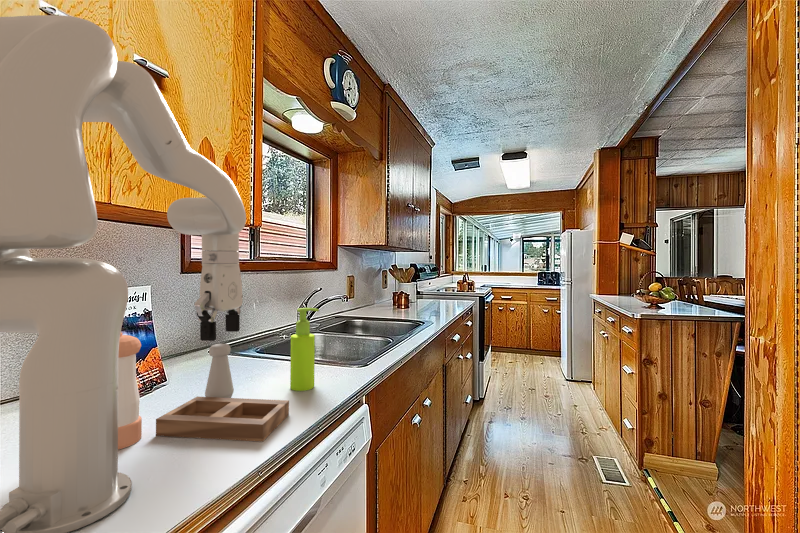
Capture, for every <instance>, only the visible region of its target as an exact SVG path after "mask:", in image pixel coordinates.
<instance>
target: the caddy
mask: <svg viewBox="0 0 800 533" xmlns="http://www.w3.org/2000/svg"><path fill="white" fill-rule="evenodd" d="M289 416H290V400H288V399H287V400H283V399H282V400H281V399H263V398H243V397H242V398H241V397H240V398H237V397H236V398H235V397H231V398H220V397H206V396H196V397H194V398H192V399H190V400H188V401H187V402H185V403H183V404H181V405H179V406H177V407H176V408H173V409H172V410H170V411H169V412H166V413H165V414H162V415H161V416H159V417H158V418H156V419H155V436H156V437H171V438H187V439H191V438H192V439H207V440H224V441H225V440H226V441H246V442H259V443H260V442H261V443H263V442H264V441H265V440H266V439H267V438H268V437H269V436H270V435H271V434H272V433H273V432H274V431H275V430H276V429H277V428H278V427H279V426H280V424H282V423H283V422H284V421H285V420H286V419H287V418H288V417H289Z"/></svg>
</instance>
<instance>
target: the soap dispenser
mask: <svg viewBox="0 0 800 533" xmlns="http://www.w3.org/2000/svg"><path fill="white" fill-rule="evenodd" d="M296 311H297V312H299V319H298V320H297V321H296V322H295V334H292V335H290V370H289V371H290V381H289V382H290V383H289V384H290V385H289V386H290V390H291V391H297V392H298V391H299V392H303V391H310V390H311V389H314V388H315V361H316V360H315V359H316V357H315V353H316V351H315V349H316V348H315V342H316V340H315V338H316V335H315V334H314V333H311V331H310V330H311V326H310V325H311V324H310V323H311V322H310V320H308V319H307V312H310V311H311V312H319V311H320V309H319V308H315V307H301V308H297V309H296Z"/></svg>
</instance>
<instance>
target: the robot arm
mask: <svg viewBox="0 0 800 533" xmlns="http://www.w3.org/2000/svg"><path fill="white" fill-rule="evenodd" d="M83 123H109V124H111V125H112V127H113V128H114V129H115V131H116V132H117V133H118V136H119V138H121V140H122V141H123V143H124V144H125V146H126V147H127V148H128V151H129V152H130V153H131V154H132V156H133V158H134V159H135V160H136V162H137V164H138V165H139V167H141V169H142V170H144V171H146V172H147V173H148V174H151V176H152V175H153V176H155V177H157V178H160V179H162V180H164V181H167V182H171V183H174V184H177V185H180V186H183V187H186V188H188V189H190V190H194V191H195V192H197V193H199V194H201V195H203V196H204V197H182V198H178V199H176V200H173V202H171V203H170V204H169V207H168V208H167V212H166V217H167V221H168V223H169V225H170V226H171V227H172V229H174V231H175V232H178V233H179V234H183V235H188V236H201V266H202V267H201V275H200V283H199V284H200V285H199V298H198V299H197V300H196V301H195V302H194V308H195V311H196V317H197V318H198V322H199V323H200V324H199V325H200V326H199V327H200V328H199V330H200V334H199V335H200V337H199V338H200V339H199V340H200V341H205V342H207V341H209V342H215V341H216V340H217V321H215V318H216V317H217V314H218V312H220V313H223V312H226V313H227V314H225V332H229V333H230V332H233V333H236V332H240V327H241V323H240V322H241V321H240V315H241V313H242V312H241V311H242V310H241V308H242V306H243V299H244V294H243V283H242V282H243V281H242V274H241V268H240V247H239V246H240V241H239V239H240V232H241V231H242V230H244V228H245V226H246V222H247V214H246V210H245V206H244V203H243V200H242V198H241V196H240V194H239V192H238V189H237V188H236V186H235V184H234V182H233V180H232V179H231V178H230V177H229V175H227V173H226V172H224V171H223V170H221V168H219V167H218V166H216V165H215V164H214V163H213V162H212V161H211V160H209V159H207V158H206V157H205V156H204V155H202V154H200V153H198V152H197V151H195V150H194V149H192V148H191V146H190V144H189V143H188V141H187V139H186V138H185V135H184V134H183V131H181V128H180V126H179V124H178V122H177V121H176V118H175V116H174V114H173V113H172V111H171V109H170V107H169V105H168V104H167V101H166V100H165V97H164V96H163V94H162V92H161V90H160V88H159V86H158V85H157V83H156V81H155V80H154V78H153V76H152V75H151V74H150V72H148V70H146V69H145V68H144V67H142V66H140V65H138V64H136V63H133V62H130V61H129V62H128V61H123V60H122V61H121V60H118V56H117V50H116V46H115V44H114V42H113V40H112V38H111V37H110V35H109V34H108V33H107V32H106V31H105V29H103V28H102V27H100V26H99V25H97V24H96V23H94V22H93V21H90V20H87V19H84V18H80V17H76V16H70V15H59V14H58V15H55V14H53V15H50V14H48V15H47V14H45V15H44V14H43V15H39V14H38V15H36V14H35V15H33V14H32V15H17V16H0V333H11V334H12V333H13V334H15V333H16V334H17V333H18V334H20V333H21V334H38V336H37V338H36V341H35V342H34V344H33V345H32V347H31V349H30V350H29V352H28V353H27V355H26V357H25V359H24V360H23V363H22V365H21V369H20V373H19V379H18V380H19V381H18V385H19V386H18V396H19V401H18V402H19V404H18V405H19V406H18V407H19V411H18V418H19V420H18V422H19V424H18V428H19V429H18V430H19V431H18V432H19V433H18V435H19V436H18V438H19V439H18V442H19V443H18V456H19V457H18V478H19V479H18V487H17V488H14V489H13V490H11V491H9V492H8V502H7V503H5V504H4V505H3V506H2V507H1V509H0V530H2V532H4V533H70V532H72V531H76V530H78V529H81V528H83V527H86V526H88V525H90V524H91V525H92V524H93V523H95V522H97V521H98V520H99V521H100V520H101V519H104V517H106V516H108V515H109V514H111V513H112V512H114V511H115V510H117V509H118V508H119V507H121V506H122V505H123V504H124V502H126V500H127V499H128V498H129V496H130V495H131V492H132V488H133V486H132V484H133V482H132V479H131V477H130V476H129V475H127V474H125V473H123V472H119V471H118V470H119V468H118V467H119V464H118V462H119V461H118V460H119V456H118V455H119V449H118V355H119V340H120V333H121V332H122V329H123V328H122V326H123V322H124V318H125V314H126V311H127V310H126V309H127V305H128V302H129V301H128V300H129V286H128V283H127V280H126V279H125V277H124V275H123V274H122V272H120V270H119V269H118V268H116V267H115V266H113V265H111V264H109V263H107V262H104V261H101V260H96V259H93V258H85V257H84V258H81V257H31V253H30V250H59V249H60V250H61V249H67V248H68V249H69V248H76V247H78V246H79V247H80V246H82V245H84V244H86V243H89V241H91V240H92V239H93V238H94V236H95V234H96V233H97V229H98V226H99V225H98V213H97V212H98V211H97V206H96V201H95V197H94V192H93V188H92V183H91V182H92V181H91V177H90V172H89V168H88V163H87V158H86V153H85V147H84V140H83ZM242 232H243V231H242Z"/></svg>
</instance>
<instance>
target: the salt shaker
mask: <svg viewBox="0 0 800 533" xmlns="http://www.w3.org/2000/svg"><path fill="white" fill-rule="evenodd" d="M208 353H209V354H208V355H209V356H210V357H212V358H211V363H210V368H209V373H208V377H207V381H206V382H207V383H206V387H205V391H204V397H220V398H233V394H234V384H233V379H232V373H231V367H230V362H229V361H230V360H229V356H228V355H230V354H231V345H229V344H227V343H215V344H212V345H210V347H209V350H208Z"/></svg>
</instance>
